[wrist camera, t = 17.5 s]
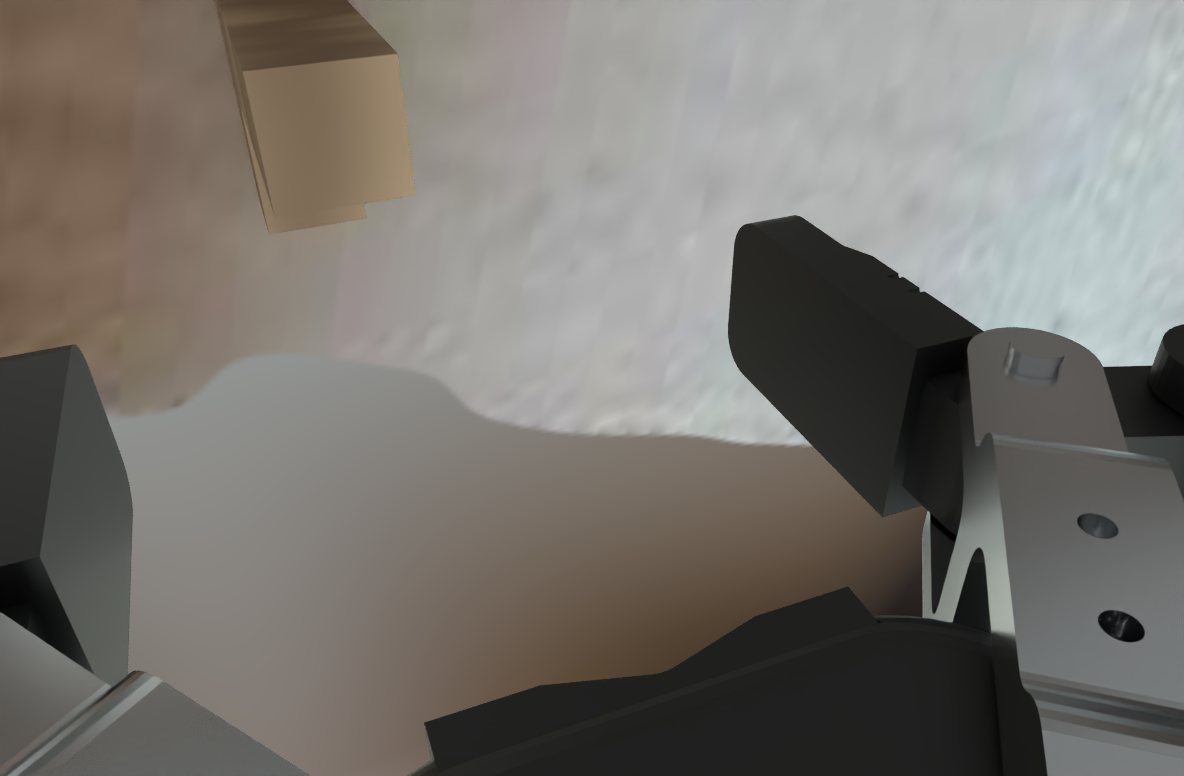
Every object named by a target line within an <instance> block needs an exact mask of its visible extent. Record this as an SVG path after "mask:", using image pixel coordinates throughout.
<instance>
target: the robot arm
mask: <svg viewBox="0 0 1184 776" xmlns="http://www.w3.org/2000/svg"><path fill="white" fill-rule="evenodd" d="M728 338H729V345H730V349H731V353H732V356H733V358H734V361H735V363H736V365H737V367H738V368H739V370H740V371H741V372H742V374H743V375H744V376H745V377H746V378H747V379H748V380H749V381H750V382H751V383H752V384H753V385H754V386H755V387H756V388H757V389H758V390H759V391H760V392H761V393H762V394H763V395H764V396H765V397H766V398H767V399H768V400H769V401H770V403H771V404H772V405H773V406H774V407H775V408H776V409H777V410H778V411H779V412H780V413H781V414H782V415H783V416H784V417H785V418H786V419H787V420H788V421H789V422H790V423H791V424H792V425H793V426H794V427H795V428H796V429H797V430H798V431H799V432H800V433H801V434H802V435H803V436H804V437H805V438H806V439H807V441H808V442H809V443H810V444H811V445H812V446H813V447H814V448H815V449H816V450H817V451H818V452H819V453H820V454H821V455H822V456H823V457H824V458H825V459H826V460H827V461H828V462H829V463H830V464H831V465H832V466H833V467H834V468H835V469H836V470H837V471H838V472H839V473H840V474H841V475H842V476H843V477H844V479H845V480H847V482H849V484H850V485H851V486H852V487H853V488H854V489H855V490H856V491H857V492H858V493H859V494H860V495H861V496H862V497H863V498H864V499H865V500H866V501H867V502H868V503H869V504H870V505H871V506H872V507H873V508H874V509H875V510H876V511H877V512H878V513H879V514H880V515H881V516H882V517H886V516H889V515H892V514H896V513H899V512H902V511H905V510H909V509H912V508H915V507H919V506H923V507H925V508H926V509H927V510H928V513H927V517H926V521H925V525H924V529H923V536H922V538H923V539H922V541H923V542H922V548H923V549H922V551H923V618H921V617H912V616H873V615H872V614H871V613H870V612H869V611H868V610H867V609H866V607H865V606H864V605H863V604H862V603H861V601H860V600H859V599H858V598H857V597H856V595H855V594H854V593H853V592H852V591H851V590H850V588H849V587H845V588H842V589H839V590H836V591H833V592H830V593H826V594H823V595H821V596H817V597H814V598H811V599H808V600H805V601H802V602H798V603H795V604H792V605H789V606H786V607H783V608H780V609H777V610H774V611H771V612H768V613H764V614H761V615H758V616H755V617H753V618H752V619H750V620H749V621H747V622H745V623H744V624H742V625H741V626H739V627H737V628H736V629H734V630H733V631H731V632H729V633H728V634H726V635H725V636H723V637H722V638H720V639H718V640H717V641H715V642H714V643H712V644H710V645H709V646H707V647H706V648H704V649H703V650H701V651H699V652H698V653H696V654H695V655H693V656H691V657H690V658H688V659H687V660H685V661H684V662H682V663H680V664H679V665H677V666H675V667H674V668H672V669H670V670H668V671H665V672H662V673H658V674H653V675H643V676H632V677H623V678H612V679H602V680H591V681H582V682H571V683H561V684H551V685H541V686H537V687H534V688H531V689H528V690H525V691H522V692H519V693H515V694H512V695H509V696H506V697H503V698H500V699H497V700H494V701H490V702H487V703H484V704H481V705H478V706H475V707H472V708H469V709H466V710H463V711H459V712H457V713H453V714H450V715H447V716H444V717H441V718H438V719H434V720H431V721H428V722H425V723H424V724H425V730H426V736H427V741H428V747H429V752H430V758H431V761H430V762H428V763H426V764H425V765H423V766H422V767H420V768H418V769H417V770H415V771H414V772H412V773H410V774H409V775H408V776H1184V324H1183V325H1179V326H1176V327H1174V328H1172V329H1170V330H1168V331H1167V332H1166V333H1165V334H1164V336H1163V339H1162V341H1161V344H1160V347H1159V349H1158V352H1157V355H1156V357H1155V360H1154V363H1153V366H1123V367H1103V366H1102V364H1101V362H1100V361H1099V360H1098V358H1097V357H1096V356H1095V355H1094V354H1093V353H1092V352H1090V351H1089V350H1088V349H1086V348H1085V347H1083V346H1082V345H1080V344H1078V343H1076V342H1074V341H1072V340H1070V339H1067V338H1065V337H1062V336H1060V335H1056V334H1053V333H1050V332H1045V331H1041V330H1036V329H1029V328H1018V327H1006V328H996V329H992V330H987V331H985V332H984V331H982V330H981V329H979V328H978V327H977V326H975V325H974V324H972V323H971V322H969V321H968V320H966V319H965V318H963V317H962V316H960V315H959V314H957V313H956V312H954V311H953V310H951V309H950V308H948V307H947V306H945V305H944V304H943V303H941V302H940V301H938V300H937V299H935V298H934V297H932V296H931V295H929V294H928V293H926V292H920V291H919V287H917V286H916V285H914V284H913V283H911V282H910V281H909V280H907V279H906V278H904V277H902V278H899V276H898V273H897V272H895V271H894V270H892V269H891V268H889V267H888V266H886V265H885V264H883V263H882V262H880V261H879V260H877V259H876V258H875V257H873V256H871V255H868V254H865V253H862V252H859V251H857V250H854V249H851V248H848V247H845V246H843V245H841V244H840V243H838V242H837V241H835V240H834V239H833V238H831V237H830V236H828V235H827V234H825V233H824V232H822V231H821V230H820V229H818V228H817V227H815V226H814V225H812V224H811V223H809V222H808V221H806V220H805V219H804V218H802V217H800V216H796V215H794V216H788V217H783V218H777V219H772V220H766V221H761V222H755V223H749V224H745V225H743V226H742V227H741V228H740V229H739V231H738V233H737V235H736V239H735V244H734V256H733V269H732V282H731V295H730V309H729V322H728ZM132 519H133V509H132V499H131V492H130V487H129V482H128V478H127V473H126V469H125V466H124V463H123V460H122V457H121V454H120V451H119V449H118V446H117V443H116V440H115V438H114V435H113V432H112V430H111V427H110V424H109V422H108V419H107V416H106V413H105V411H104V408H103V405H102V403H101V400H100V397H99V394H98V392H97V389H96V386H95V384H94V381H93V378H92V375H91V373H90V370H89V367H88V365H87V362H86V360H85V358H84V356H83V354H82V352H81V350H80V349H79V348H78V347H77V346H76V345H69V346H63V347H58V348H52V349H47V350H41V351H35V352H30V353H24V354H19V355H13V356H8V357H2V358H0V776H310V775H309V774H307V773H306V772H304V771H302V770H301V769H299V768H298V767H296V766H295V765H293V764H292V763H290V762H289V761H287V760H285V759H284V758H282V757H281V756H279V755H278V754H276V753H274V752H273V751H271V750H270V749H268V748H267V747H265V746H264V745H262V744H261V743H259V742H257V741H256V740H254V739H253V738H251V737H250V736H248V735H246V734H245V733H243V732H242V731H240V730H239V729H237V728H236V727H234V726H232V725H231V724H229V723H228V722H226V721H225V720H223V719H222V718H220V717H219V716H217V715H215V714H214V713H212V712H211V711H209V710H207V709H206V708H205V707H203V706H201V705H200V704H198V703H197V702H195V701H193V700H192V699H190V698H189V697H187V696H186V695H184V694H183V693H181V692H179V691H178V690H176V689H175V688H173V687H172V686H170V685H169V684H167V683H166V682H164V681H162V680H161V679H159V678H157V677H155V676H154V675H151V674H149V673H147V672H143V671H133V672H131V673H130V674H127V673H128V645H129V644H128V643H129V612H130V582H131V551H132Z"/></svg>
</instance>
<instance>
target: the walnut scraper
mask: <svg viewBox="0 0 1184 776" xmlns="http://www.w3.org/2000/svg"><path fill="white" fill-rule="evenodd" d="M214 2H215V6H216V10H217V15H218V19H219V24H220V28H221V32H222V37H223V41H224V46H225V50H226V55H227V59H228V63H229V68H230V72H231V77H232V81H233V85H234V90H235V94H236V99H237V103H238V108H239V112H240V116H241V121H242V125H243V130H244V134H245V138H246V143H247V147H248V152H249V156H250V160H251V165H252V169H253V174H254V178H255V183H256V187H257V191H258V196H259V200H260V204H261V207H262V211H263V215H264V218H265V222H266V225H267V229H268V232H269V234H275V233H281V232H287V231H293V230H299V229H305V228H311V227H317V226H323V225H329V224H335V223H341V222H347V221H353V220H359V219H365V218H367V216H366V210H365V203H371V202H378V201H384V200H390V199H396V198H402V197H409V196H415V195H416V191H415V183H414V175H413V167H412V160H411V152H410V144H409V137H408V129H407V121H406V113H405V106H404V98H403V90H402V83H401V75H400V67H399V59H398V53H397V52H396V51H395V50H394V49H393V48H392V47H391V46H390V45H389V44H388V43H387V42H386V41H385V40H384V39H383V38H382V37H381V36H380V35H379V34H378V33H377V31H376V30H375V29H374V28H373V27H372V26H371V25H370V24H369V23H368V22H367V21H366V20H365V19H364V18H363V17H362V16H361V15H360V14H359V13H358V12H357V10H356V9H355V8H354V7H353V6H352V5H351V4H350V3H349V2H348V1H347V0H214Z"/></svg>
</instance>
